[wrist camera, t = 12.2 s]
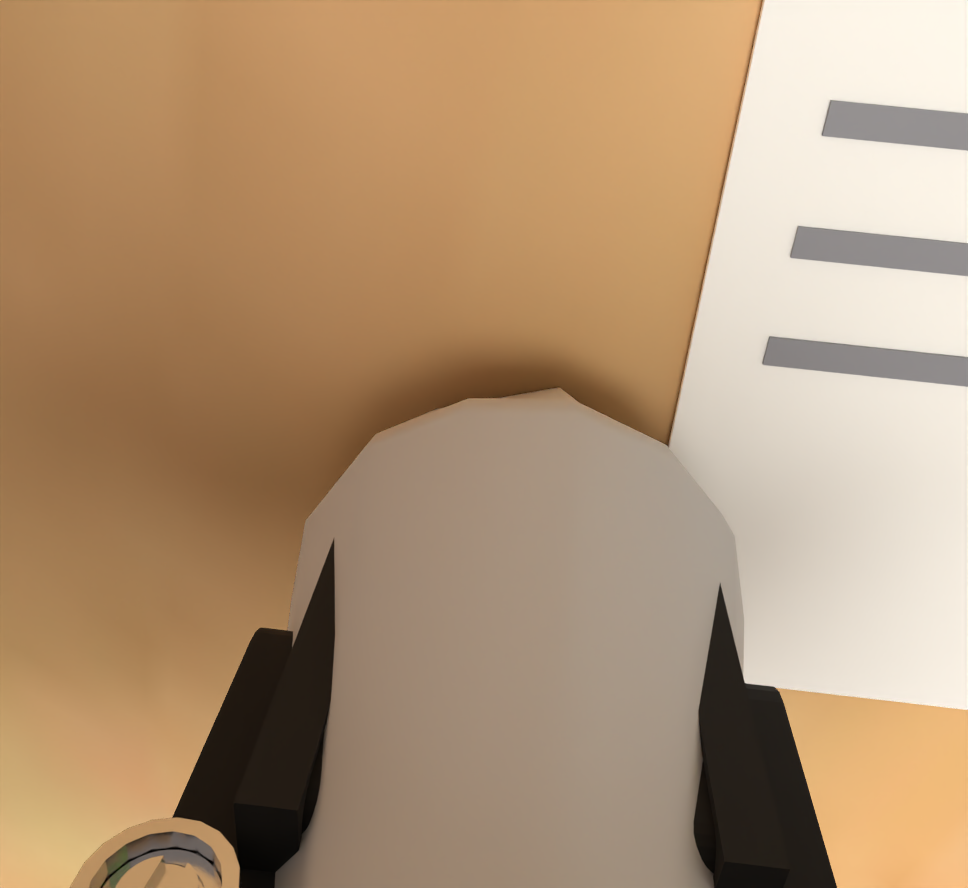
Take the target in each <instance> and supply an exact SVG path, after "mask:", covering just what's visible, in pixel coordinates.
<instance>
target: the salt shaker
mask: <svg viewBox="0 0 968 888" xmlns="http://www.w3.org/2000/svg"><path fill="white" fill-rule="evenodd" d="M333 539H334V565H335V646H334V661H333V677H332V692H331V702H330V707H329V712H328V717H327V722H326V726H325V730H324V742H323V756H322V770H321V781H320V789H319V794H318V798H317V802H316V806H315V809H314V813H313V816H312V818H311V821H310V824H309V826H308V828H307V829H306V830H305V831H304V833H302V838H301V843H300V848H299V851H298V852H297V853H296V854H295V855H294V856H293V857H291V858H290V859H289V860H288V861H287V862H286V863H285V864H284V865H283V866H282V867H281V868H280V869H279V870H278V871H276V872H275V888H714V880H713V875H714V874H713V873H712V872H711V871H710V870H709V869H708V868H707V867H706V866H705V864H704V862H703V861H702V859H701V856H700V854H699V851H698V849H697V846H696V842H695V838H694V816H695V809H696V803H697V796H698V790H699V783H700V776H701V770H702V763H703V757H702V749H701V738H700V726H699V714H698V710H699V704H700V698H701V692H702V686H703V680H704V674H705V668H706V662H707V656H708V650H709V645H710V639H711V633H712V627H713V621H714V615H715V609H716V603H717V597H718V591H719V585H720V584H721V588H722V592H723V596H724V600H725V604H726V608H727V612H728V616H729V621H730V625H731V629H732V633H733V637H734V641H735V645H736V649H737V653H738V657H739V661H740V665H741V669H742V674H743V667H744V614H743V605H742V596H741V587H740V578H739V569H738V560H737V551H736V543H735V536H734V534H733V532H732V531H731V529H730V527H729V525H728V524H727V522H726V520H725V518H724V517H723V515H722V513H721V512H720V511H719V510H718V508H717V507H716V506H715V505H714V504H713V502H712V501H711V500H710V499H709V497H708V496H707V495H706V494H705V492H704V491H703V490H702V489H701V487H700V486H699V485H698V484H697V482H696V481H695V480H694V479H693V477H692V476H691V475H690V474H689V472H688V471H687V470H686V469H685V467H684V466H683V465H682V464H681V463H680V461H679V460H678V459H677V458H676V456H675V455H674V454H673V453H672V451H671V450H670V449H669V448H668V446H667V445H666V444H664V443H662V442H660V441H658V440H655V439H653V438H651V437H649V436H647V435H645V434H643V433H641V432H639V431H637V430H635V429H633V428H631V427H629V426H626V425H624V424H622V423H620V422H618V421H616V420H614V419H612V418H610V417H608V416H606V415H604V414H602V413H600V412H597V411H595V410H593V409H591V408H589V407H587V406H585V405H583V404H581V403H579V402H578V401H577V400H575V399H574V398H573V397H571V396H570V395H569V394H567V393H566V392H565V391H564V390H562V389H561V388H560V387H558V388H552V389H547V390H541V391H535V392H529V393H524V394H518V395H512V396H507V397H501V398H468V399H465V400H463V401H460V402H458V403H455V404H452V405H450V406H447V407H444V408H438V409H435V410H432V411H430V412H427V413H425V414H423V415H420V416H418V417H415V418H413V419H410V420H408V421H406V422H403V423H401V424H398V425H396V426H393V427H391V428H389V429H386V430H384V431H381V432H379V433H376V434H375V435H374V436H373V438H372V439H371V440H370V441H369V443H368V444H367V445H366V446H365V447H364V449H363V450H362V451H361V452H360V454H359V455H358V456H357V457H356V459H355V460H354V461H353V462H352V464H351V465H350V466H349V467H348V468H347V470H346V471H345V472H344V473H343V475H342V476H341V477H340V478H339V480H338V481H337V482H336V483H335V485H334V486H333V487H332V488H331V490H330V491H329V492H328V493H327V494H326V496H325V497H324V498H323V499H322V501H321V502H320V503H319V504H318V506H317V507H316V508H315V509H314V511H313V512H312V513H311V514H310V515H309V517H308V518H307V519H306V521H305V526H304V532H303V537H302V543H301V549H300V554H299V560H298V565H297V571H296V576H295V582H294V588H293V593H292V599H291V607H290V614H289V622H288V630H287V631H293V643H292V647H293V645H294V642H295V639H296V637H297V634H298V631H299V629H300V626H301V623H302V621H303V618H304V616H305V613H306V610H307V608H308V605H309V602H310V600H311V597H312V594H313V592H314V589H315V587H316V584H317V581H318V579H319V576H320V573H321V571H322V568H323V565H324V563H325V560H326V558H327V555H328V552H329V550H330V547H331V544H332V542H333Z"/></svg>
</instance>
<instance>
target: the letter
mask: <svg viewBox="0 0 968 888" xmlns="http://www.w3.org/2000/svg"><path fill="white" fill-rule="evenodd" d="M668 448H669V449H670V450H671V451H672V453H673V454H674V455H675V456H676V458H677V459H678V460H679V461H680V463H681V464H682V465H683V466H684V467H685V469H686V470H687V471H688V472H689V474H690V475H691V476H692V477H693V479H694V480H695V481H696V482H697V484H698V485H699V486H700V487H701V489H702V490H703V491H704V492H705V494H706V495H707V496H708V497H709V499H710V500H711V501H712V502H713V504H714V505H715V506H716V507H717V508H718V510H719V511H720V512H721V513H722V515H723V517H724V518H725V520H726V522H727V524H728V525H729V527H730V529H731V531H732V532H733V534H734V536H735V543H736V551H737V560H738V569H739V578H740V587H741V596H742V605H743V614H744V667H743V678H744V682H745V683H747V684H755V685H764V686H773V687H775V688H782V689H791V690H800V691H808V692H817V693H826V694H834V695H843V696H852V697H861V698H869V699H878V700H887V701H895V702H904V703H913V704H921V705H930V706H939V707H947V708H956V709H965V710H968V0H763V2H762V7H761V12H760V16H759V21H758V26H757V31H756V35H755V40H754V45H753V49H752V54H751V59H750V63H749V68H748V73H747V78H746V82H745V87H744V92H743V96H742V101H741V106H740V110H739V115H738V120H737V125H736V129H735V134H734V139H733V143H732V148H731V153H730V157H729V162H728V167H727V172H726V176H725V181H724V186H723V190H722V195H721V200H720V204H719V209H718V214H717V219H716V223H715V228H714V233H713V237H712V242H711V247H710V251H709V256H708V261H707V266H706V270H705V275H704V280H703V284H702V289H701V294H700V298H699V303H698V308H697V313H696V317H695V322H694V327H693V331H692V336H691V341H690V345H689V350H688V355H687V360H686V364H685V369H684V374H683V378H682V383H681V388H680V392H679V397H678V402H677V407H676V411H675V416H674V421H673V425H672V430H671V435H670V439H669V444H668Z"/></svg>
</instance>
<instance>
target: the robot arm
mask: <svg viewBox="0 0 968 888" xmlns="http://www.w3.org/2000/svg"><path fill="white" fill-rule="evenodd" d="M292 643H293V631H285V630H277V629H268V628H259V629H258V630H257V631H256V632H255V634H254V636H253V637H252V639H251V641H250V643H249V646H248V648H247V650H246V652H245V655H244V657H243V659H242V661H241V664H240V666H239V668H238V670H237V673H236V675H235V677H234V679H233V682H232V684H231V686H230V688H229V691H228V693H227V695H226V697H225V700H224V702H223V704H222V707H221V709H220V711H219V713H218V716H217V718H216V720H215V722H214V725H213V727H212V729H211V731H210V734H209V736H208V738H207V740H206V743H205V745H204V747H203V749H202V752H201V754H200V756H199V759H198V761H197V763H196V765H195V768H194V770H193V772H192V774H191V777H190V779H189V781H188V783H187V786H186V788H185V790H184V792H183V795H182V797H181V799H180V801H179V804H178V806H177V808H176V810H175V813H174V815H173V817H172V818H166V819H155V820H150V821H147V822H145V823H142V824H139V825H136V826H133V827H130V828H127V829H126V830H124V831H122V832H121V833H119V834H118V835H116V836H114V837H113V838H111V839H110V840H108V841H106V842H105V843H103V844H102V845H101V846H100V847H99V848H98V849H97V850H96V851H95V852H94V853H93V854H92V855H91V856H90V857H89V858H88V859H87V860H86V861H85V862H84V864H83V866H82V867H81V869H80V871H79V872H78V874H77V876H76V878H75V879H74V881H73V883H72V884H71V886H70V888H275V872H276V871H278V870H279V869H280V868H281V867H282V866H283V865H284V864H285V863H286V862H287V861H288V860H289V859H290V858H291V857H293V856H294V855H295V854H296V853H297V852H298V851H299V848H300V843H301V838H302V833H304V831H305V830H306V829H307V828H308V826H309V824H310V821H311V818H312V816H313V813H314V809H315V806H316V802H317V798H318V794H319V789H320V781H321V770H322V756H323V742H324V730H325V726H326V722H327V717H328V712H329V707H330V702H331V692H332V677H333V661H334V646H335V565H334V539H333V542H332V544H331V547H330V550H329V552H328V555H327V558H326V560H325V563H324V565H323V568H322V571H321V573H320V576H319V579H318V581H317V584H316V587H315V589H314V592H313V594H312V597H311V600H310V602H309V605H308V608H307V610H306V613H305V616H304V618H303V621H302V623H301V626H300V629H299V631H298V634H297V637H296V639H295V642H294V645H293V647H292ZM698 714H699V726H700V738H701V749H702V757H703V763H702V770H701V776H700V783H699V790H698V796H697V803H696V809H695V816H694V838H695V842H696V846H697V849H698V851H699V854H700V856H701V859H702V861H703V862H704V864H705V866H706V867H707V868H708V869H709V870H710V871H711V872H712V873H713V874H714V875H713V880H714V888H837V886H836V883H835V879H834V876H833V872H832V869H831V865H830V862H829V858H828V855H827V852H826V848H825V845H824V841H823V838H822V834H821V831H820V827H819V824H818V820H817V817H816V814H815V810H814V807H813V803H812V800H811V796H810V793H809V789H808V786H807V782H806V779H805V776H804V772H803V769H802V765H801V762H800V758H799V755H798V751H797V748H796V744H795V741H794V737H793V734H792V731H791V727H790V724H789V720H788V717H787V713H786V710H785V706H784V703H783V700H782V698H781V696H780V693H779V691H778V690H777V689H776V688H775V687H773V686H764V685H755V684H747V683H745V682H744V678H743V674H742V669H741V665H740V661H739V657H738V653H737V649H736V645H735V641H734V637H733V633H732V629H731V625H730V621H729V616H728V612H727V608H726V604H725V600H724V596H723V592H722V588H721V584H720V585H719V591H718V597H717V603H716V609H715V615H714V621H713V627H712V633H711V639H710V645H709V650H708V656H707V662H706V668H705V674H704V680H703V686H702V692H701V698H700V704H699V710H698Z"/></svg>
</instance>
